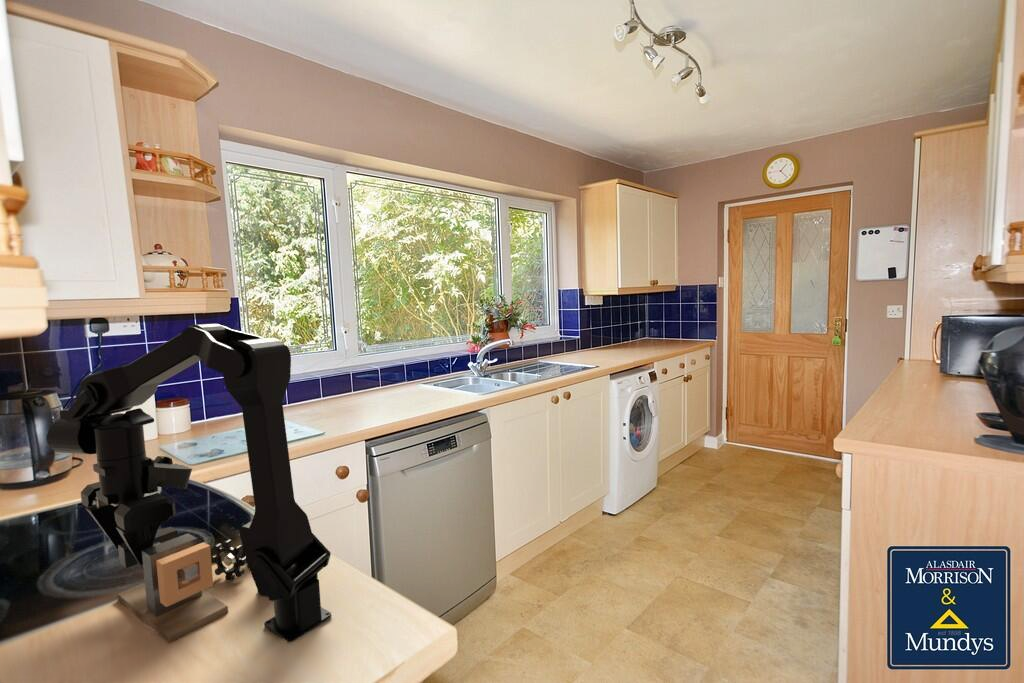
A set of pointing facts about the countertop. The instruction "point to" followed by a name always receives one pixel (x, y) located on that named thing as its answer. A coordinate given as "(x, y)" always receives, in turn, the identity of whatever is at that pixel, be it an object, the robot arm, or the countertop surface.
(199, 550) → the collar
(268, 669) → the countertop surface
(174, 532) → the rod
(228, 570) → the valve
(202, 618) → the base plate
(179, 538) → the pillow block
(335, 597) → the countertop surface
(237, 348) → the robot arm
